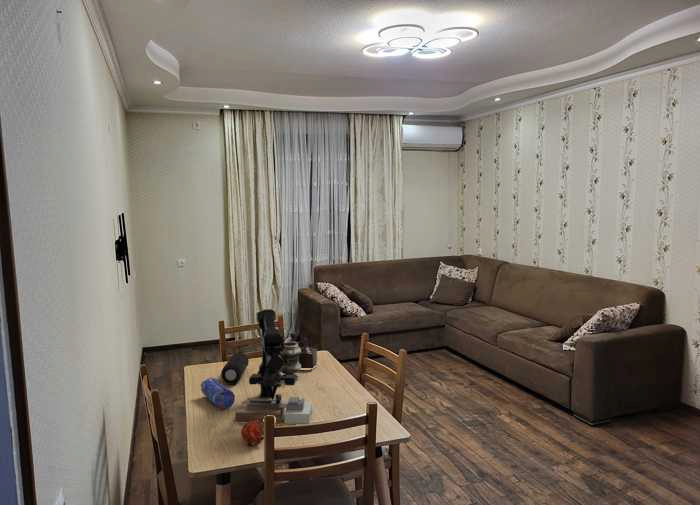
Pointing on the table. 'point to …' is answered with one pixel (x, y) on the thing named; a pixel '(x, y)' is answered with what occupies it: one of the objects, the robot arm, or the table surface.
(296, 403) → the block
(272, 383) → the robot arm
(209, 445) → the table surface
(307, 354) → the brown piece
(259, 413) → the door board
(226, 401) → the pencil case
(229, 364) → the portable speaker
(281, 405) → the lock bolt
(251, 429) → the dragon fruit
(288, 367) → the apothecary jar
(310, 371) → the table surface
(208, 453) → the table surface
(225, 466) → the table surface
